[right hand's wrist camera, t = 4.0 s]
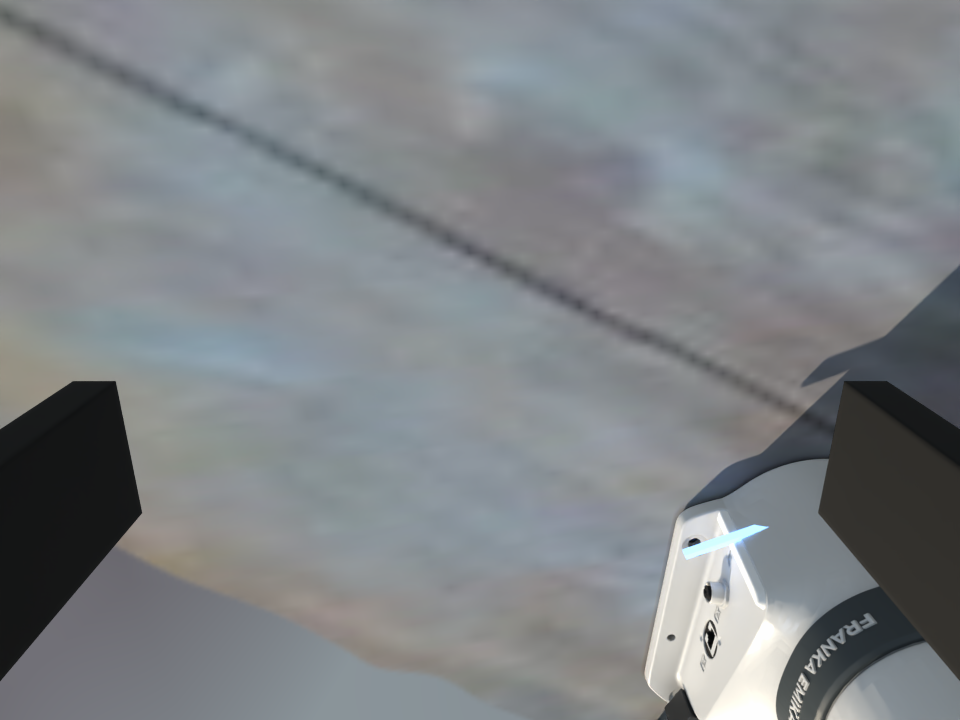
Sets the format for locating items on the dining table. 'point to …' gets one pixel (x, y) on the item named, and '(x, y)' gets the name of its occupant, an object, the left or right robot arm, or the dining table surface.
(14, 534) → the right robot arm
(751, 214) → the dining table surface
